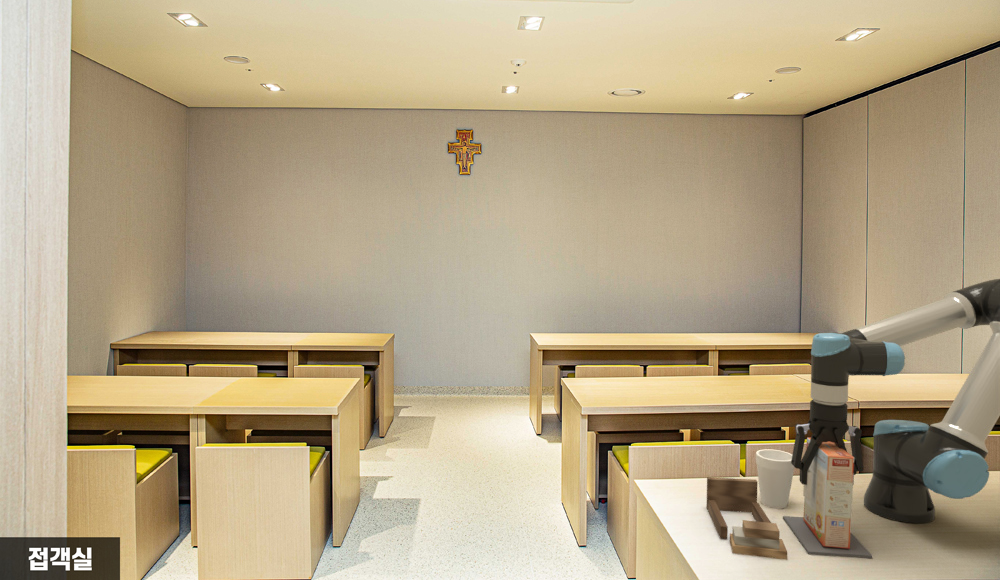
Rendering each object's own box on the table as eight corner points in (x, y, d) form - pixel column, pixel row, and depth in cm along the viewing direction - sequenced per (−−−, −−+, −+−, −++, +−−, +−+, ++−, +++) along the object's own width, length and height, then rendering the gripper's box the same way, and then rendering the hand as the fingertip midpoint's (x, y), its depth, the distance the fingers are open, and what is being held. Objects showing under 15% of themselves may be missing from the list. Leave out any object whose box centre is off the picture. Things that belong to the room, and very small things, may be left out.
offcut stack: (781, 547, 136) (782, 521, 135) (787, 560, 130) (787, 533, 130) (729, 541, 139) (730, 516, 138) (732, 554, 133) (733, 527, 132)
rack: (755, 510, 155) (755, 479, 154) (775, 542, 138) (776, 508, 137) (706, 507, 157) (707, 477, 156) (720, 538, 139) (721, 505, 139)
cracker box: (852, 550, 133) (855, 456, 131) (822, 547, 134) (826, 455, 132) (829, 522, 146) (832, 437, 145) (802, 520, 147) (805, 436, 146)
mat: (838, 521, 148) (838, 519, 148) (872, 558, 130) (872, 555, 130) (782, 518, 150) (782, 515, 150) (808, 554, 132) (808, 551, 132)
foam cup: (793, 500, 161) (795, 452, 160) (794, 513, 153) (796, 463, 152) (755, 494, 165) (756, 447, 164) (753, 507, 157) (755, 458, 156)
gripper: (869, 398, 140) (865, 494, 142) (776, 395, 143) (774, 490, 145) (884, 406, 133) (880, 508, 134) (786, 403, 136) (784, 502, 137)
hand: (825, 498), depth 140 cm, fingers open, 7 cm apart
